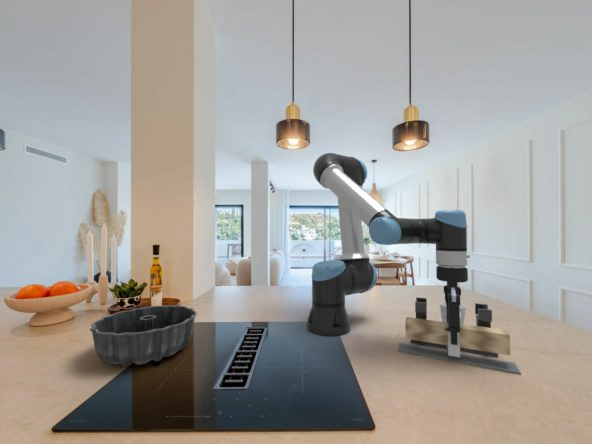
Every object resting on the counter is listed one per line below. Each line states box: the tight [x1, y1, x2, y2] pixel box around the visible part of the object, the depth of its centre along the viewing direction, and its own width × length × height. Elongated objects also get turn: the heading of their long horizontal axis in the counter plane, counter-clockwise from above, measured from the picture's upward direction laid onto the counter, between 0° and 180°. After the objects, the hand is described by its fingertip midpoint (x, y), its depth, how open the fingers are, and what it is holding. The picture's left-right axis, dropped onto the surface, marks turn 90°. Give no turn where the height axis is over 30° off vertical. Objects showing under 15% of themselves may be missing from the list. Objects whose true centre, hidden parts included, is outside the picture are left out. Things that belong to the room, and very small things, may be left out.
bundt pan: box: [89, 304, 198, 367], centre depth 78 cm, size 26×26×10 cm
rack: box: [410, 296, 499, 358], centre depth 80 cm, size 22×7×13 cm, turn 64°
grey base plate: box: [397, 342, 522, 375], centre depth 74 cm, size 28×6×1 cm, turn 64°
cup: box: [439, 301, 466, 325], centre depth 97 cm, size 11×8×8 cm
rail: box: [404, 316, 511, 356], centre depth 74 cm, size 24×4×5 cm, turn 64°
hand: (453, 352), depth 74 cm, fingers closed on rail, 4 cm apart
